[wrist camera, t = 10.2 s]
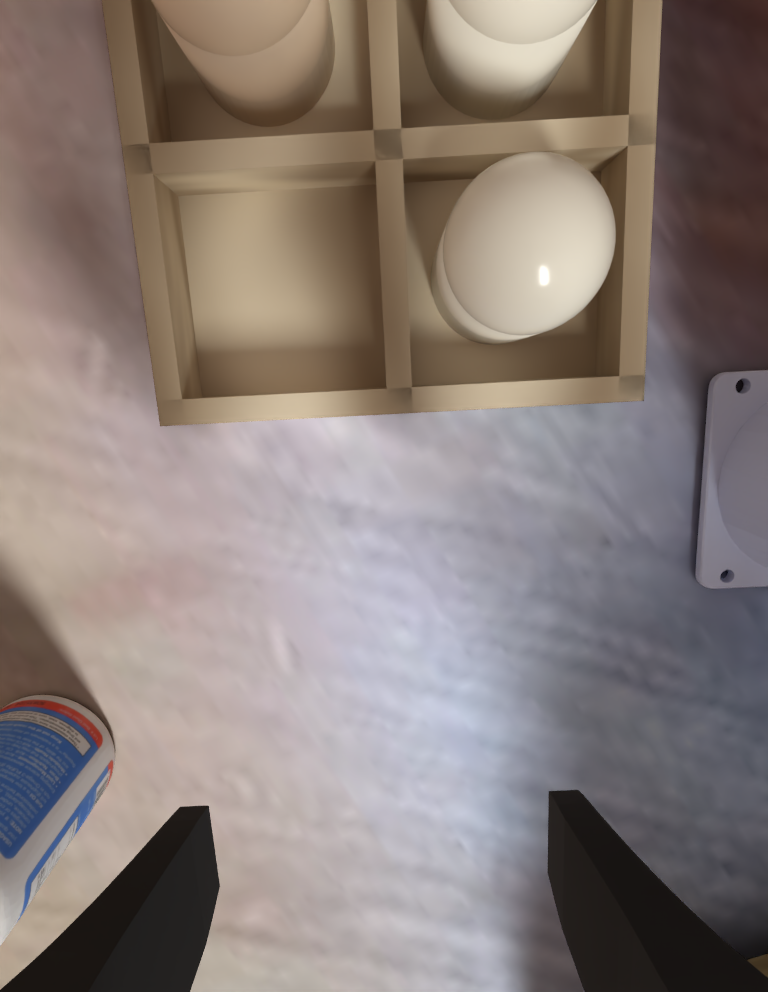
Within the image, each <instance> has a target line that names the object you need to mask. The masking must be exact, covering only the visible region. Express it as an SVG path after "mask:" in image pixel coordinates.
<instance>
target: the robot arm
mask: <svg viewBox="0 0 768 992" xmlns="http://www.w3.org/2000/svg"><path fill="white" fill-rule="evenodd" d="M740 379H741V380H742V381H743V384H744V386H743V389H742V390H741V391H740V392H739V393H738V392H737V391H736V387H735V386H736V383H737V382H738V381H739V380H740ZM724 570H728V574H727V576H726V577H725V578H723V579H720V576H721V573H722V572H723V571H724ZM695 575H696V580H697V581H698V583H700V584H701V585H703V586H704V587H706V588H709V589H723V588H744V587H765V586H768V370H757V371H738V372H723V373H719V374H717V375H716V376H714V377H713V378H712V380H711V381H710V384H709V388H708V402H707V416H706V430H705V445H704V459H703V473H702V487H701V501H700V515H699V530H698V544H697V558H696V572H695ZM548 875H549V879H550V883H551V887H552V891H553V895H554V899H555V903H556V907H557V911H558V915H559V918H560V922H561V926H562V930H563V932H564V935H565V938H566V941H567V944H568V946H569V949H570V952H571V955H572V958H573V960H574V963H575V966H576V969H577V971H578V974H579V977H580V980H581V982H582V985H583V988H584V991H585V992H768V977H767V976H765V975H764V974H763V973H762V972H760V971H759V970H758V969H757V968H755V967H754V966H753V965H752V964H751V963H750V962H748V961H747V960H746V959H745V958H744V957H742V956H741V955H740V954H739V953H738V952H737V951H735V950H734V949H733V948H732V947H731V946H730V945H728V944H727V943H726V942H725V941H724V940H723V939H722V938H720V937H719V936H718V935H717V934H716V933H715V932H714V931H713V930H712V929H711V928H709V927H708V926H707V925H706V924H705V923H704V922H703V921H702V920H701V919H700V918H699V917H698V916H697V915H696V914H694V913H693V912H692V911H691V910H690V909H689V908H688V907H687V906H686V905H685V904H684V903H683V902H682V901H681V900H680V899H679V898H678V897H677V896H676V895H675V894H674V893H673V892H672V891H671V890H670V889H669V888H668V887H667V886H666V885H665V884H664V883H663V882H662V881H661V880H660V879H659V878H658V877H657V876H656V875H655V874H654V873H653V872H652V871H651V870H650V869H649V868H648V867H647V866H646V865H645V863H644V862H643V861H642V860H641V859H640V858H639V857H638V856H637V855H636V854H635V853H634V852H633V851H632V850H631V849H630V848H629V846H628V845H627V844H626V843H625V842H624V841H623V840H622V839H621V838H620V837H619V835H618V834H617V833H616V832H615V831H614V830H613V829H612V828H611V826H610V825H609V824H608V823H607V822H606V821H605V820H604V818H603V817H602V816H601V815H600V814H599V813H598V812H597V810H596V809H595V808H594V807H593V806H592V805H591V803H590V802H589V801H588V800H587V799H586V798H585V796H584V795H583V794H582V793H581V792H580V791H579V790H567V791H549V818H548ZM219 887H220V884H219V877H218V870H217V863H216V856H215V848H214V841H213V834H212V827H211V820H210V812H209V806H189V807H180V808H179V809H178V810H177V811H176V812H175V813H174V814H173V815H172V816H171V817H170V818H169V819H168V821H167V822H166V823H165V824H164V825H163V826H162V827H161V828H160V829H159V831H158V832H157V833H156V834H155V835H154V836H153V837H152V838H151V840H150V841H149V842H148V843H147V844H146V845H145V846H144V847H143V849H142V850H141V851H140V852H139V853H138V854H137V855H136V856H135V857H134V859H133V860H132V861H131V862H130V863H129V864H128V865H127V866H126V867H125V868H124V870H123V871H122V872H121V873H120V874H119V875H118V876H117V877H116V878H115V879H114V880H113V881H112V882H111V884H110V885H109V886H108V887H107V888H106V889H105V890H104V891H103V892H102V893H101V894H100V895H99V896H98V897H97V898H96V900H95V901H94V902H93V903H92V904H91V905H90V906H89V907H88V908H87V909H86V910H85V911H84V912H83V913H82V914H81V915H80V916H79V917H78V918H77V919H76V920H75V921H74V922H73V923H72V924H71V925H70V926H69V927H68V928H67V929H66V930H65V931H64V932H63V933H62V934H61V935H60V936H59V937H58V938H57V939H56V940H55V941H54V942H53V943H52V944H51V945H50V946H48V947H47V948H46V949H45V950H44V951H43V952H42V953H41V954H40V955H39V956H38V957H37V958H36V959H35V960H33V961H32V962H31V963H30V964H29V965H28V966H27V967H26V968H25V969H23V970H22V971H21V972H20V973H19V974H18V975H17V976H16V977H14V978H13V979H12V980H11V981H10V982H9V983H8V984H6V985H5V986H4V987H3V988H2V989H1V990H0V992H190V990H191V987H192V984H193V981H194V978H195V975H196V972H197V969H198V966H199V963H200V961H201V958H202V955H203V952H204V949H205V946H206V942H207V938H208V934H209V930H210V926H211V922H212V918H213V913H214V909H215V905H216V900H217V896H218V891H219Z"/></svg>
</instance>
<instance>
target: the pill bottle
mask: <svg viewBox="0 0 768 992" xmlns="http://www.w3.org/2000/svg"><path fill="white" fill-rule="evenodd" d="M114 764H115V751H114V745H113V742H112V739H111V736H110V734H109V732H108V730H107V728H106V727H105V725H104V724H103V722H102V721H101V720H100V719H99V718H98V717H97V716H96V715H95V714H94V713H92V712H91V711H90V710H88V709H87V708H85V707H84V706H82V705H80V704H78V703H77V702H74V701H72V700H69V699H66V698H62V697H58V696H53V695H34V696H28V697H24V698H21V699H18V700H15V701H13V702H11V703H10V704H8V705H6V706H5V707H3V708H2V709H1V710H0V946H1V944H2V943H3V941H4V940H5V939H6V937H7V936H8V934H9V933H10V932H11V930H12V929H13V927H14V926H15V924H16V923H17V922H18V920H19V919H20V917H21V916H22V914H23V913H24V911H25V910H26V908H27V907H28V905H29V904H30V902H31V901H32V899H33V898H34V896H35V895H36V893H37V892H38V890H39V889H40V887H41V886H42V884H43V883H44V881H45V880H46V878H47V877H48V875H49V874H50V872H51V871H52V869H53V868H54V866H55V865H56V863H57V862H58V860H59V859H60V857H61V856H62V854H63V853H64V851H65V850H66V848H67V846H68V845H69V844H70V842H71V840H72V839H73V837H74V836H75V834H76V833H77V831H78V830H79V829H80V827H81V825H82V824H83V822H84V821H85V819H86V818H87V816H88V815H89V813H90V812H91V810H92V809H93V807H94V806H95V804H96V803H97V801H98V800H99V798H100V797H101V795H102V794H103V792H104V790H105V789H106V787H107V785H108V783H109V781H110V778H111V776H112V773H113V769H114Z"/></svg>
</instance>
